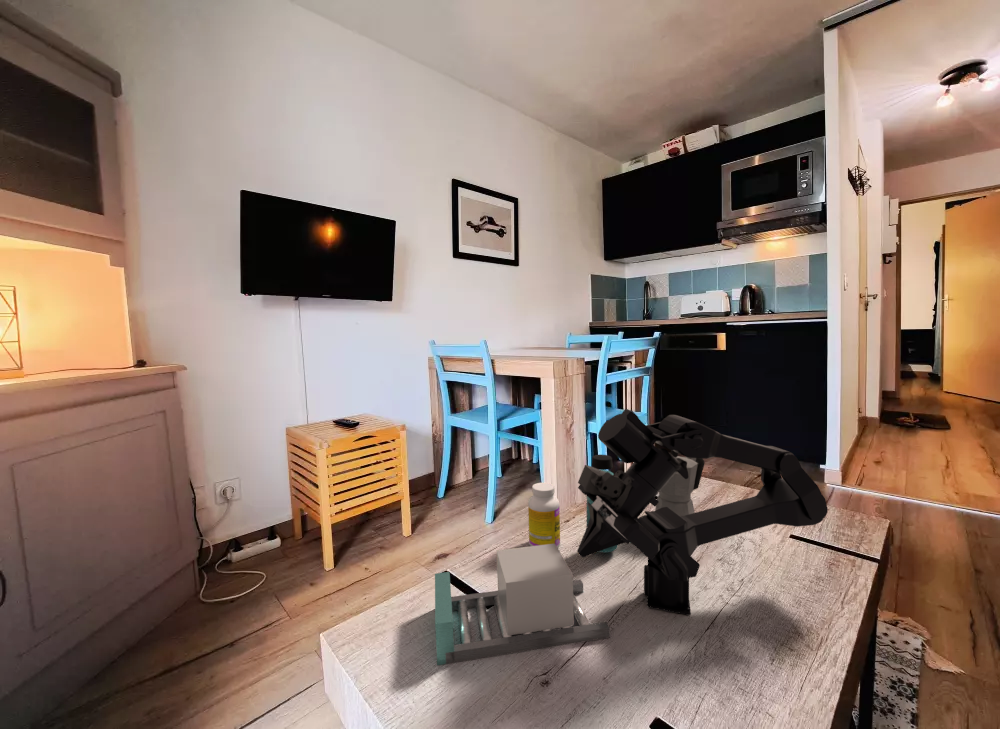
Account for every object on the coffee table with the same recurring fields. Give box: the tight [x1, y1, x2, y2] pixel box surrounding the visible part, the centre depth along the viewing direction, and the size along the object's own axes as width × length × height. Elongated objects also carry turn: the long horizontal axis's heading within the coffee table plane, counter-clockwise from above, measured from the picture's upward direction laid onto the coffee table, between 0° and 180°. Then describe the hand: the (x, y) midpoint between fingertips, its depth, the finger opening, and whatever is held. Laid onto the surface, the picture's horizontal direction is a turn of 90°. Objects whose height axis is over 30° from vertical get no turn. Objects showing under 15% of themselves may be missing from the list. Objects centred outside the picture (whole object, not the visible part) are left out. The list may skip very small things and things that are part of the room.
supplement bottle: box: [527, 482, 561, 549], centre depth 86 cm, size 7×7×13 cm
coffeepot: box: [654, 450, 706, 516], centre depth 93 cm, size 15×9×18 cm, turn 112°
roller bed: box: [434, 571, 611, 666], centre depth 64 cm, size 12×25×6 cm, turn 99°
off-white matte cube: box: [496, 544, 575, 636], centre depth 64 cm, size 10×9×8 cm
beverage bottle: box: [585, 454, 619, 553], centre depth 83 cm, size 6×7×20 cm
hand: (579, 554), depth 65 cm, fingers closed
